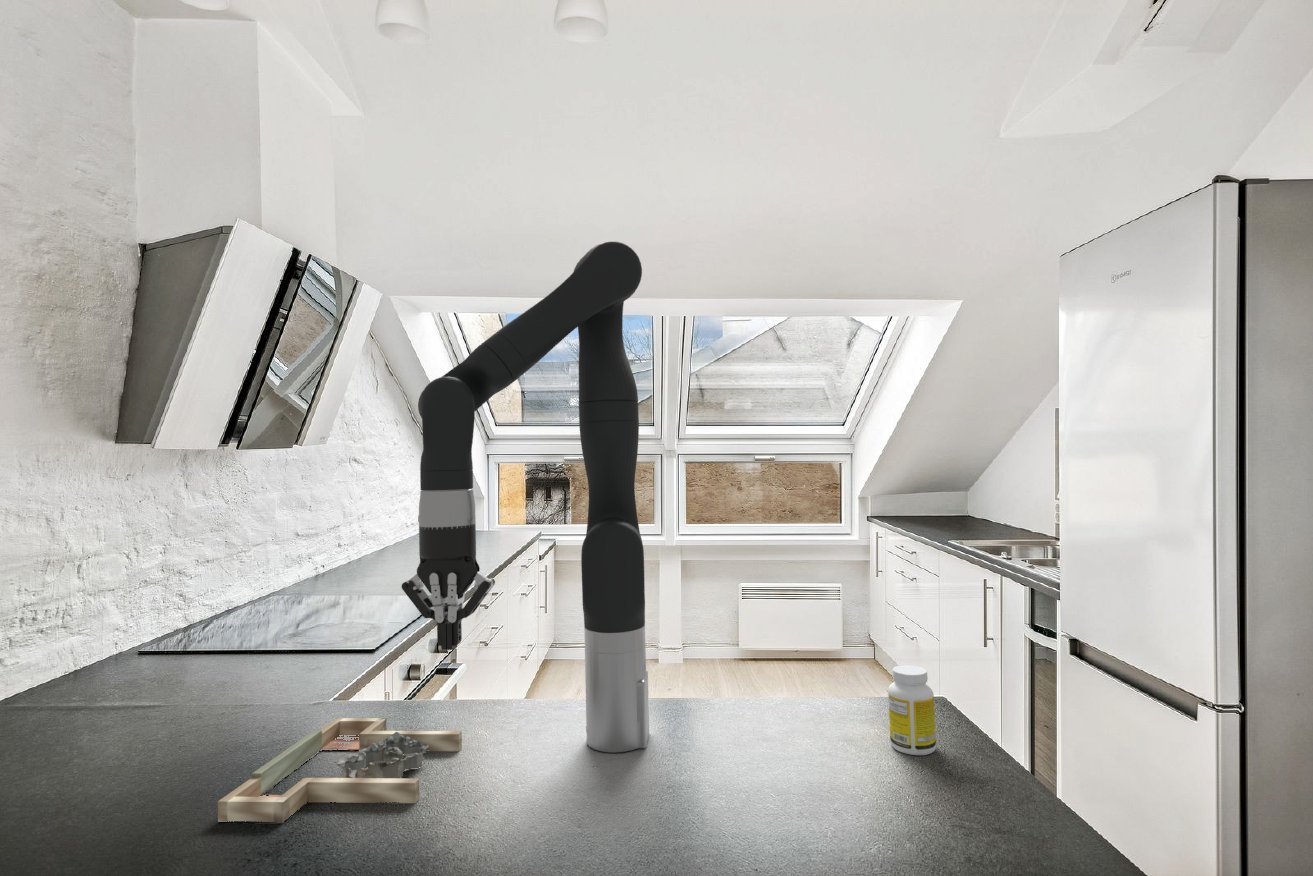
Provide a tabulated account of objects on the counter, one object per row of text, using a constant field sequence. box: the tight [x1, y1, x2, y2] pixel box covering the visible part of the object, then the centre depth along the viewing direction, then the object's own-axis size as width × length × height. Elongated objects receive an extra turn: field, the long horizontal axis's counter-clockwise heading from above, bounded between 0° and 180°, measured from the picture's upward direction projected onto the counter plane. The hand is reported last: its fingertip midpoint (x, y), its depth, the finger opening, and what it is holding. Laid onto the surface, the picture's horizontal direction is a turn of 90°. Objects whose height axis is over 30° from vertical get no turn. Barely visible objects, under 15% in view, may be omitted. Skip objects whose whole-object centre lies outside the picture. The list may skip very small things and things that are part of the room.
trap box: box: [217, 717, 463, 824], centre depth 94 cm, size 22×26×3 cm
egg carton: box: [335, 732, 429, 778], centre depth 94 cm, size 11×8×4 cm
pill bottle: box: [887, 665, 937, 756], centre depth 98 cm, size 6×6×11 cm
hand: (449, 648), depth 94 cm, fingers closed
